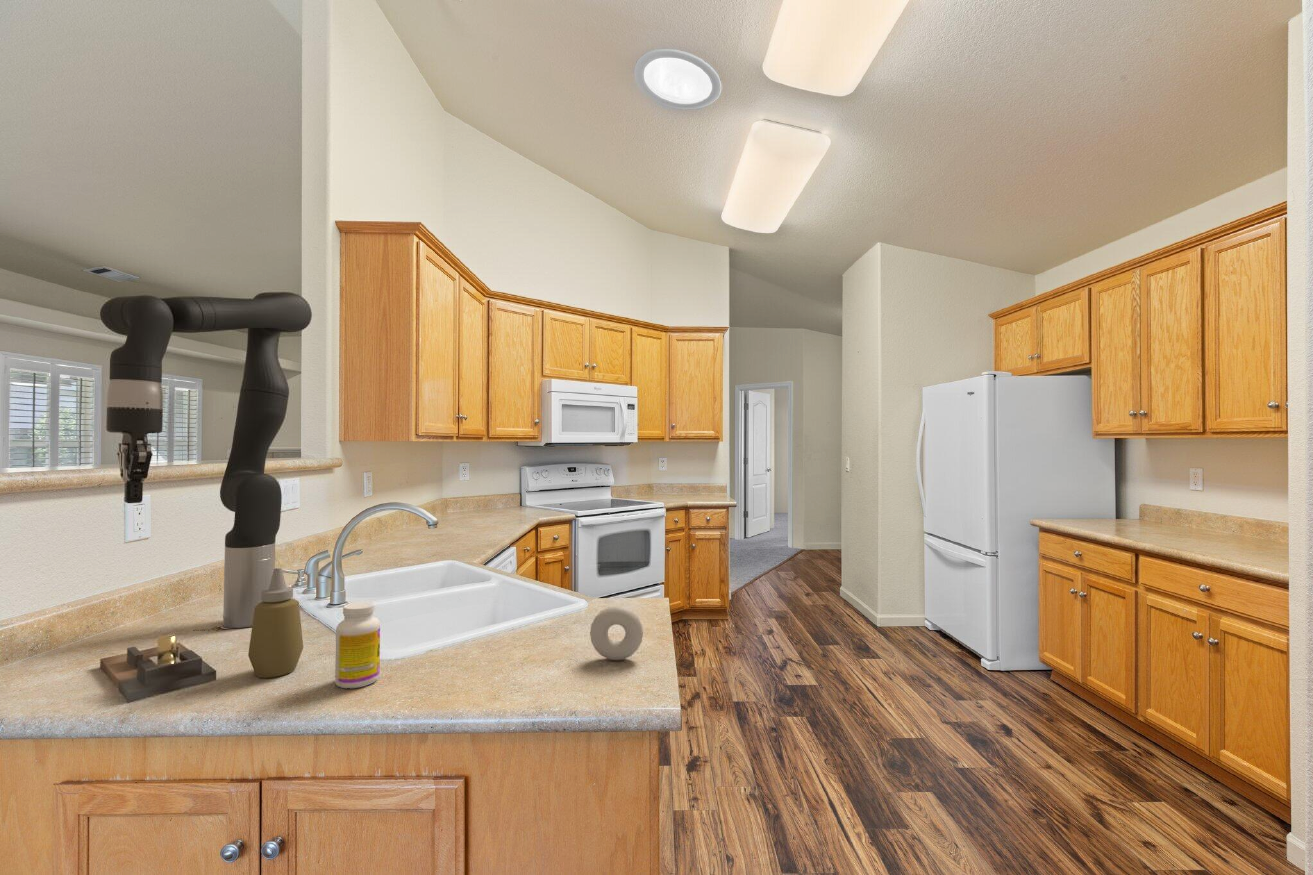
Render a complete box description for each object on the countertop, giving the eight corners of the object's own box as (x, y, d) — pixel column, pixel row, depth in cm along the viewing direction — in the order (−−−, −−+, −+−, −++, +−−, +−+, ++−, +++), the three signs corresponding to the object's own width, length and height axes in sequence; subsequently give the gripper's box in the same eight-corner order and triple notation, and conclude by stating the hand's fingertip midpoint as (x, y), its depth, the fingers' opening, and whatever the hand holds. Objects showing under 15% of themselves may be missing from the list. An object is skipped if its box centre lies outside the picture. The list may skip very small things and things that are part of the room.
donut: (643, 656, 110) (643, 604, 110) (642, 663, 106) (643, 609, 106) (590, 656, 110) (591, 603, 110) (588, 662, 106) (589, 608, 106)
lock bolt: (171, 664, 99) (172, 629, 99) (184, 676, 94) (185, 639, 94) (148, 669, 97) (149, 633, 97) (161, 681, 92) (162, 644, 92)
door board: (179, 650, 110) (179, 628, 110) (216, 679, 97) (216, 654, 97) (100, 667, 101) (100, 643, 102) (128, 702, 88) (129, 674, 88)
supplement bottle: (384, 682, 96) (386, 605, 96) (340, 693, 92) (342, 613, 92) (372, 670, 101) (374, 597, 102) (330, 680, 97) (332, 604, 97)
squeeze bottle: (243, 685, 95) (245, 575, 95) (251, 668, 102) (253, 566, 102) (301, 676, 99) (303, 571, 99) (304, 660, 106) (306, 562, 106)
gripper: (172, 406, 103) (170, 503, 102) (153, 409, 111) (151, 499, 110) (115, 404, 97) (112, 507, 96) (99, 406, 105) (97, 501, 104)
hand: (133, 502), depth 103 cm, fingers closed
